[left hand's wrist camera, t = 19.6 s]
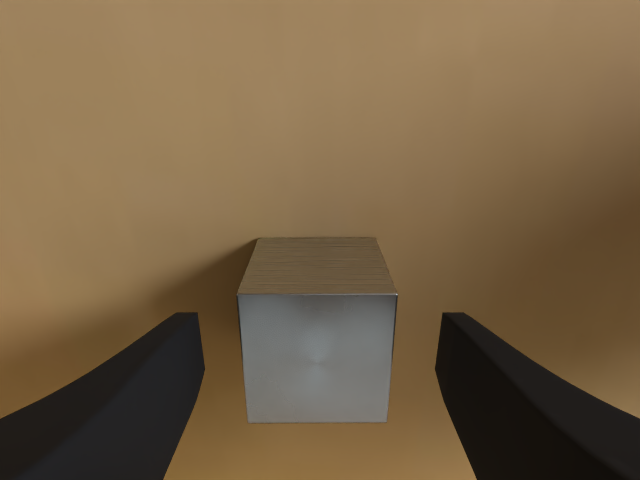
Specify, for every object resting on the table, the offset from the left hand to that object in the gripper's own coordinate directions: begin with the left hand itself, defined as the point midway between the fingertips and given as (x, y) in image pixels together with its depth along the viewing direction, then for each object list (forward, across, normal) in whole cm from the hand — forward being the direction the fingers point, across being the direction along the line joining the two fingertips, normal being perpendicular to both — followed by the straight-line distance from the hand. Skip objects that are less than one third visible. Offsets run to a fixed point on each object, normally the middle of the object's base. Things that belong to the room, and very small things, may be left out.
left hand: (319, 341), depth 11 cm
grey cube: (+3, 0, 0) cm, 3 cm away
